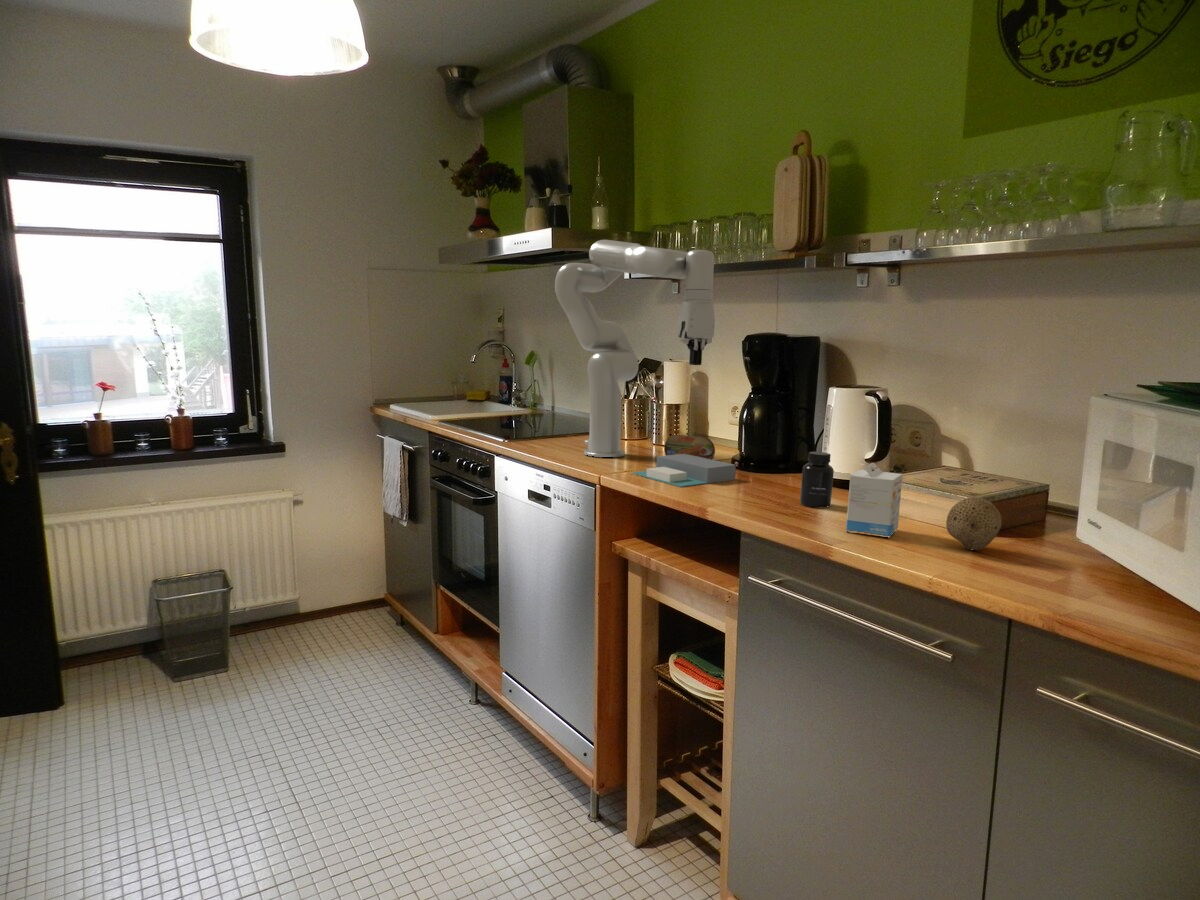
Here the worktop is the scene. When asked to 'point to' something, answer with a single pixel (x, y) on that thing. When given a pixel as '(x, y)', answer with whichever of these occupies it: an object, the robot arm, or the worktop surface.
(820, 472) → the supplement bottle
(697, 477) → the grey flat block
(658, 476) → the white rectangular block
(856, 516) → the ink box
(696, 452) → the tin
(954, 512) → the natural sponge
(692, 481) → the mat
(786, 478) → the worktop surface
